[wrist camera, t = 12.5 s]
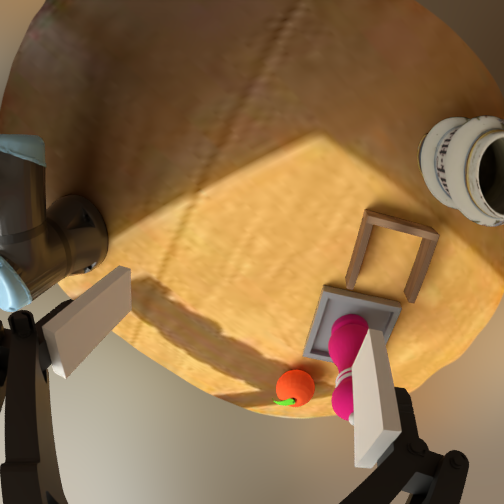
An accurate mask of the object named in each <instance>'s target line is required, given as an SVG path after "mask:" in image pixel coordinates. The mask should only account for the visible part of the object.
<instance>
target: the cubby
mask: <svg viewBox="0 0 504 504" xmlns="http://www.w3.org/2000/svg"><path fill="white" fill-rule="evenodd" d="M373 225H377V226H381V227H385V228H389V229H393V230H396V231H400V232H404V233H408V234H411V235H415V236H419V237H422V238H423V239H422V242H421V245H420V248H419V251H418V254H417V257H416V259H415V262H414V265H413V268H412V271H411V273H410V276H409V279H408V281H407V284H406V287H405V289H404V293H405V295H406V298H407V300H408V302H410V303H415V300H416V298H417V295H418V293H419V290H420V288H421V285H422V283H423V280H424V278H425V275H426V272H427V270H428V267H429V264H430V262H431V259H432V256H433V253H434V250H435V247H436V244H437V241H438V238H439V234H438V233H437V232H436V231H435V230H434V229H433V228H431V227H428V226H424V225H421V224H417V223H414V222H410V221H407V220H403V219H399V218H396V217H392V216H388V215H384V214H381V213H377V212H373V211H369V210H364V214H363V218H362V222H361V225H360V229H359V233H358V236H357V240H356V244H355V247H354V251H353V254H352V257H351V261H350V264H349V267H348V271H347V274H346V277H345V279H346V287H347V289H351V290H353V289H354V286H355V283H356V280H357V277H358V274H359V271H360V267H361V264H362V261H363V258H364V254H365V251H366V248H367V244H368V241H369V237H370V234H371V230H372V227H373Z"/></svg>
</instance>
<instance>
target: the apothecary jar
mask: <svg viewBox="0 0 504 504" xmlns="http://www.w3.org/2000/svg"><path fill="white" fill-rule="evenodd" d="M417 159H418V166H419V170H420V172H421V174H422V176H423V178H424V180H425V182H426V185H427V187H428V188H429V190H430V191H431V193H432V194H433V195H434V196H435V197H436V198H437V199H438V200H439V201H440V202H441V203H443V204H444V205H446V206H448V207H451V208H454V209H459V211H460V212H461V213H462V214H463V215H464V216H465V217H467V218H468V219H469V220H471V221H473V222H475V223H477V224H480V225H484V226H499V225H502V224H504V120H503V119H501V118H498V117H494V116H478V117H475V118H472V119H469V118H465V117H451V118H447V119H444V120H442V121H441V122H439V123H438V124H436V125H435V126H434V127H433V128H432V129H431V130H430V132H429V133H428V134H425V135H424V137H423V138H422V140H421V142H420V144H419V147H418V154H417Z"/></svg>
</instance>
